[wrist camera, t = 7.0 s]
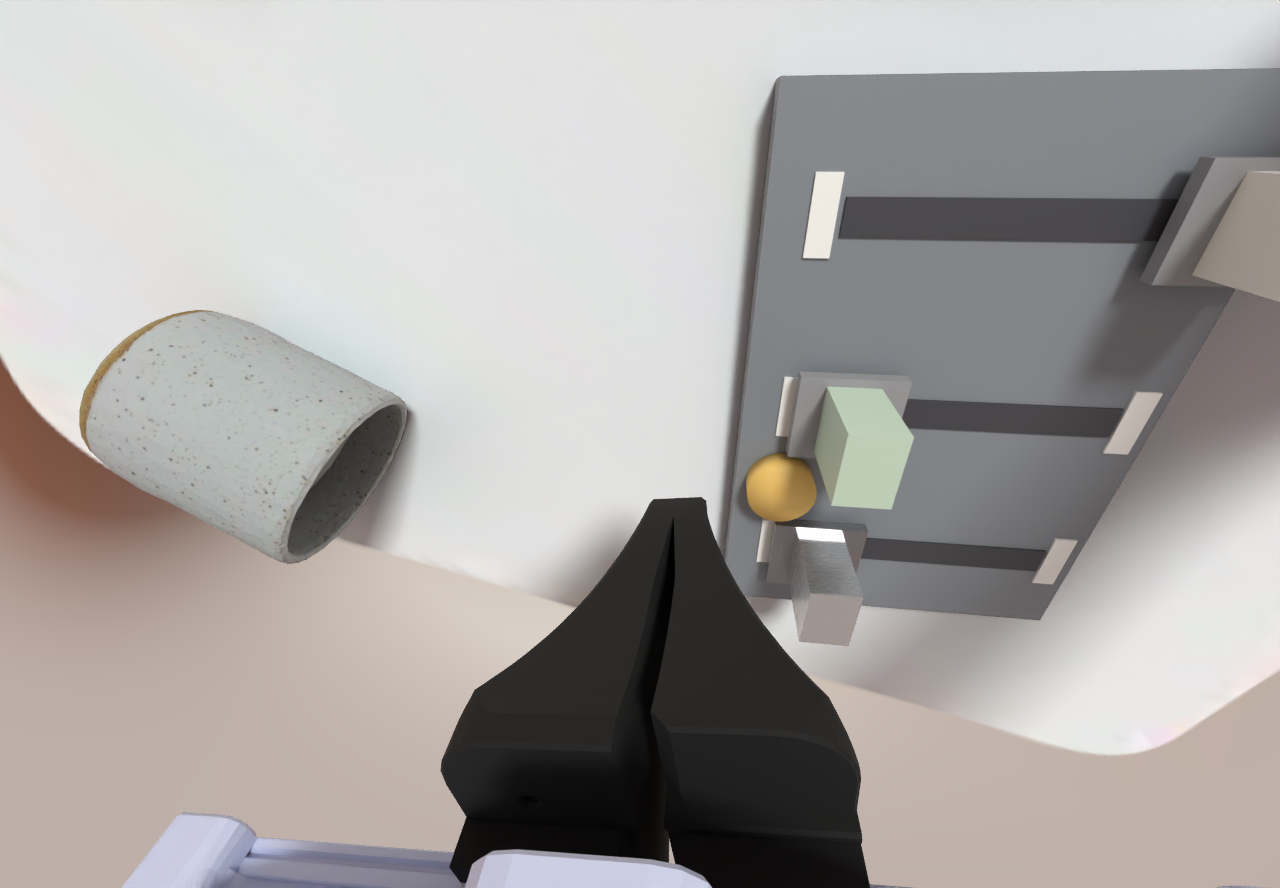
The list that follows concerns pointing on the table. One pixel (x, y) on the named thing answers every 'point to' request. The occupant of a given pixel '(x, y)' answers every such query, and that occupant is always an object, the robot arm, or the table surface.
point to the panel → (978, 308)
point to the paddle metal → (819, 575)
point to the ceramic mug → (242, 430)
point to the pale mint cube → (853, 434)
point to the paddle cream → (1224, 229)
